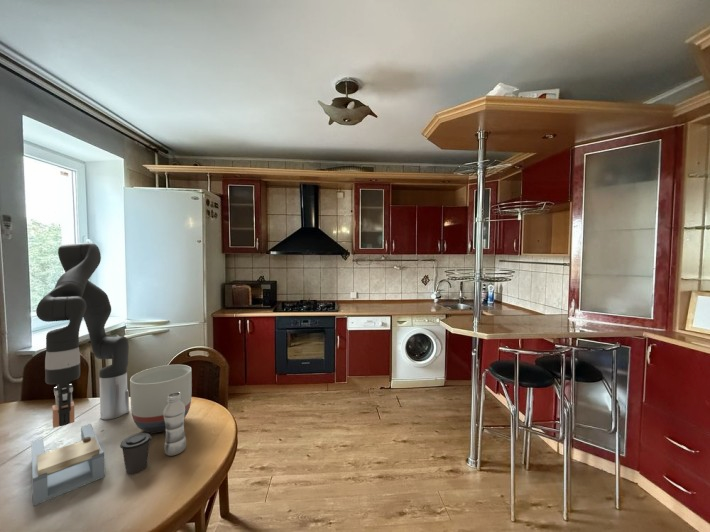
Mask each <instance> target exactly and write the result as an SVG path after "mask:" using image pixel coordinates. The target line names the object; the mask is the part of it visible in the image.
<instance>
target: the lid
mask: <svg viewBox="0 0 710 532" xmlns="http://www.w3.org/2000/svg"><path fill="white" fill-rule="evenodd" d="M97 454H100V451H99V447H98V444H97V442H96V439H95V437H92V438H91V437H86V438H84V439H83V441H81V440H80V441H78V442H75V443H70V444H68V445H65V446H62V447H58V448H55V449H53V450H51V451H47V452H45V453H43V454H40V455H37V470H38V476H39V475H42V474H45V473H47V475H48V474H50V473H53V472H56V471H59V470H61V469H64V468H67V467H69V466H72V465H75V464H78V463H80V462H83V461H86V460H88V459H91V458H92V456H94V455H97Z"/></svg>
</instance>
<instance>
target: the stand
mask: <svg viewBox="0 0 710 532" xmlns="http://www.w3.org/2000/svg"><path fill="white" fill-rule="evenodd" d="M92 425H93V424H92V423H89V424H86V425H82V426H80V433H81V434H80V437H81V438H80V439H81V440H80V441H83V439H84V438H86V437H91V438H92V437H95V439H96V442H97V444H98V447H99V451H100V454H97V455H94V456H92V458H91V459H88V460H86V461H83V462H80V463H78V464H75V465H72V466H69V467H67V468H64V469H61V470H59V471H56V472H53V473H50V474H48V475H47V473H45V474H42V475H39V476H38V470H37V455H40V454H43V453H46V452H45V442H44V438H39V439H37V440H32V441H31V442H30V444H31V475H32V477H31V478H32V480H31V481H32V499H33V501H32V502H33V503H32V504H33V506H36V505H39V504H41V503H44V502H47V501H48V500H52V499H54V498H55V497H58V496H60V495H64V494H65V493H68V492H70V491H73V490H75V489H77V488H80V487H82V486H85V485H87V484H90V483H92V482H95V481H98V480H101V479H102V478H105V476H106V474H105V473H106V471H105V470H106V469H105V452H104V451H103V450H102V447H101V445H100V442H99V440H98V437H97V435H96V432H95V430H94V426H92Z"/></svg>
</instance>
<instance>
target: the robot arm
mask: <svg viewBox="0 0 710 532" xmlns="http://www.w3.org/2000/svg"><path fill="white" fill-rule="evenodd" d="M57 256H58V259H59V262H60V265H61V266H62V268H63V271H64V273H62V275H61V276H59V278H58V280H57V282H56V284H55V286H54V289H51V291H49V292H48V293H47V294H46V295H44V297H42V298H41V299H40V301H39V302H38V304H37V306H36V308H35V309H36V310H35V313H36V316H37V318H38V319H39V320H41V321H42V322H48V323H49V322H50V323H51V322H52V323H53V322H64V321H69V322H68V324H67V325H65V326H64V327H60V328H57V329H56V328H54V329H52V330H50V331H48V332H47V333H46V336H45V345H46V346H45V347H46V348H45V351H46V352H45V359H44V371H45V372H44V373H45V377H44V381H45V383H46V384H47V385H55V387H53V393H54V396H55V397H54V398H55V405H57V406H58V413H59V427H63V426H66V425H69V423H70V411H71V402H72V401H73V391H74V386H73V383H71V382H72V381H75V380H78V379H79V378H80V377H81V352H80V343H79V342H80V341H79V340H80V328H81V325H82V321H83V320H84V322H85V326H86V329H87V332H88V336H89V341H90V345H91V350H92V353H93V355H94V356H95V358H97V359H98V360H112V364H110V365H107V366H104V367H102V368H101V369H100V370H99V373H98V376H99V411H100V412H99V414H100V415H99V416H100V419H101V420H113V419H116V418H119V417H122V416H124V415H126V414H128V413H130V396H129V395H130V394H129V392H130V390H129V389H128V365H129V348H130V347H129V340H128V338H127V337H126V336H123V335H122V336H120V335H119V336H118V335H117V336H108V335H107V333H106V330H105V326H106V323H107V321H108V320H109V317H110V316H111V312H112V305H111V301H110V299H109V296H108V294H107V293H106V292H105V291H104V290H103V289H101V288H100V287H98V286H97V285H96V284H94V283H93V282H91V281H89V280H90V278H91V277H92V276H93V274H94V273H95V271H96V270H97V269H98V267H99V265H100V263H101V259H102V254H101V251H100V248H99V246H98V245H97V244H96V243H95V242H81V243H70V244H69V243H68V244H63V245H60V246H59V247H58V251H57ZM65 405H68V407H66V408H62V409H61V407H62V406H65ZM70 424H71V423H70Z"/></svg>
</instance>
